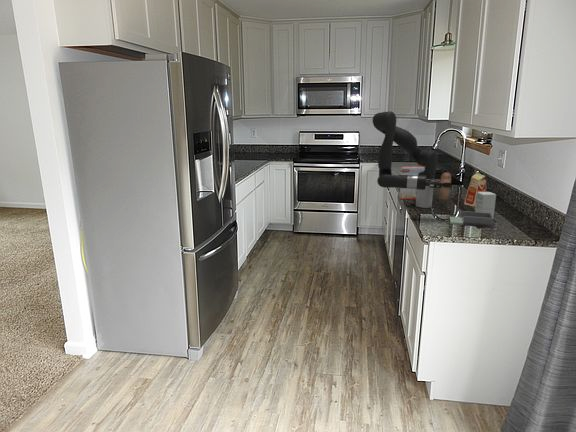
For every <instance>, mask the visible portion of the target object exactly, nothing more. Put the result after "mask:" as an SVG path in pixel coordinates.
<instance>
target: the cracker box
mask: <svg viewBox="0 0 576 432" xmlns="http://www.w3.org/2000/svg"><path fill="white" fill-rule="evenodd" d="M424 170H425V166H401V167H400V175H418V173H420V172H423V171H424ZM416 194H417V189H408V188H399V196H398V197H399V200H401V201H402V200H407V201H408V200H415V201H416Z"/></svg>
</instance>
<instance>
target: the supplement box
mask: <svg viewBox="0 0 576 432" xmlns="http://www.w3.org/2000/svg"><path fill="white" fill-rule="evenodd" d="M496 199H497V194H496V193H493V192H490V191H486V192H477V196H476V205H475V206H474V207H475V208H474V212H482V213H492V215H493V216H494V215H495V208H496V201H497V200H496Z"/></svg>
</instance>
